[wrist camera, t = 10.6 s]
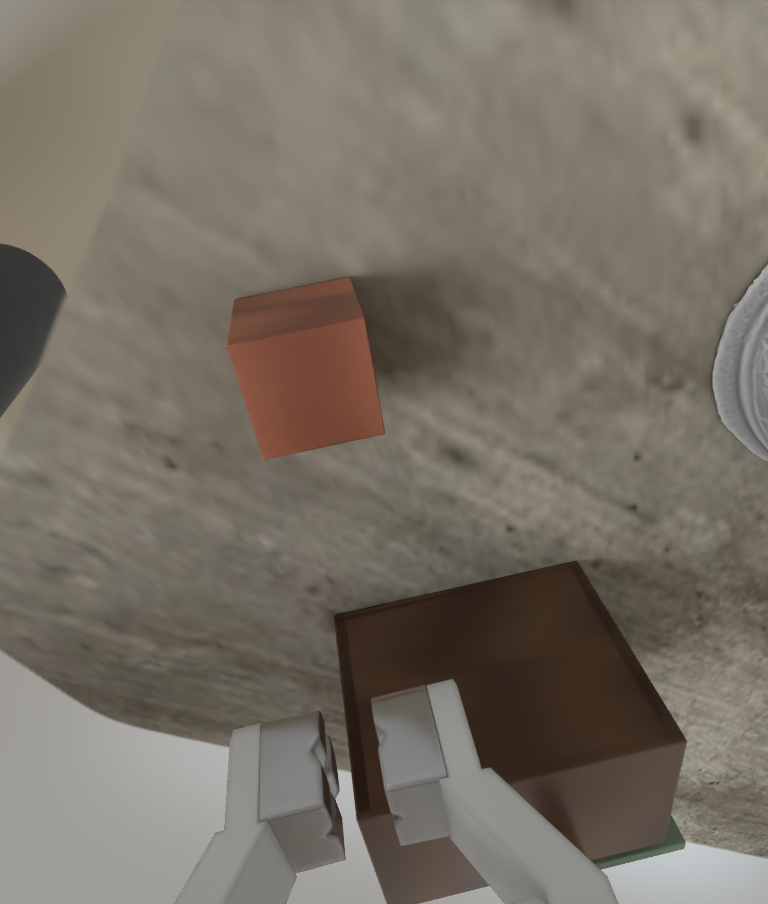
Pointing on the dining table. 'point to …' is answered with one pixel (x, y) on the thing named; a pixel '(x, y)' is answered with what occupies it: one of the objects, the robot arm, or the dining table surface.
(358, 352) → the block
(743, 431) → the grey oval dome
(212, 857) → the robot arm
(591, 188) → the dining table surface
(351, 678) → the cupboard
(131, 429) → the dining table surface
